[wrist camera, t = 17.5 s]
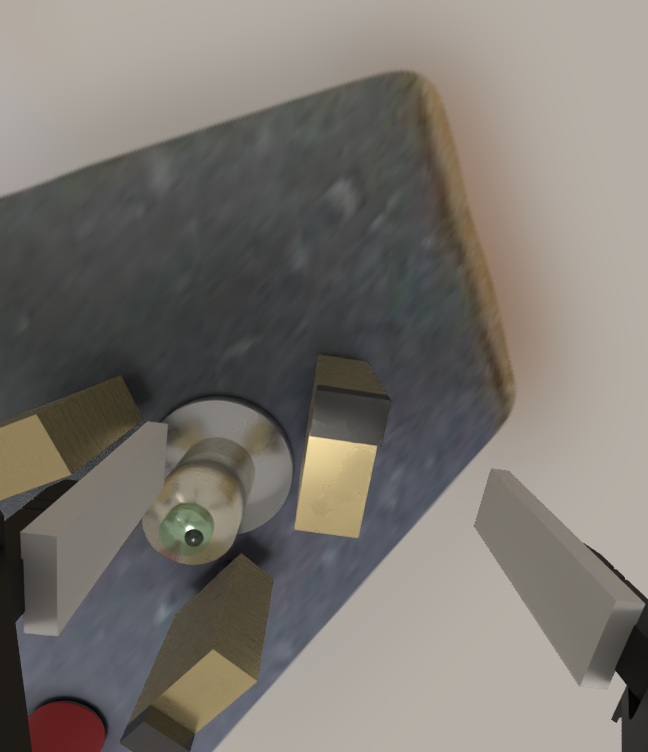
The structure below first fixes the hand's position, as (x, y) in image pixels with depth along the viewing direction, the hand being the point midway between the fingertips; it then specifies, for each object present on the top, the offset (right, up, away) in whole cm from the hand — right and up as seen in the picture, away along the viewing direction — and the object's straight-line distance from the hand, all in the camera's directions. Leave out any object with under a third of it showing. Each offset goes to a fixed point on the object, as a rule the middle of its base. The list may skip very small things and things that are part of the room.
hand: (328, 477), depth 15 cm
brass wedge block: (-7, -11, +11) cm, 18 cm away
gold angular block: (-15, +2, +8) cm, 17 cm away
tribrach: (-5, -1, +11) cm, 13 cm away
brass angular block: (0, +2, +8) cm, 9 cm away
